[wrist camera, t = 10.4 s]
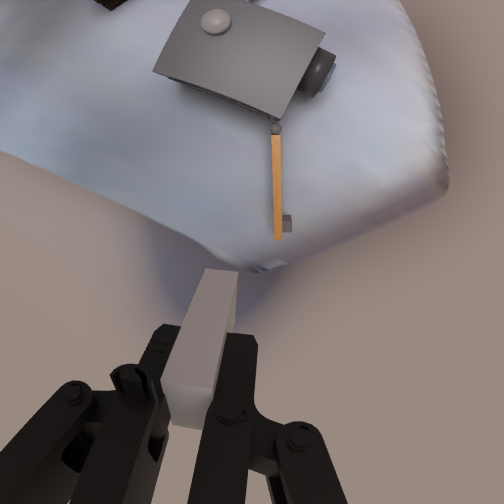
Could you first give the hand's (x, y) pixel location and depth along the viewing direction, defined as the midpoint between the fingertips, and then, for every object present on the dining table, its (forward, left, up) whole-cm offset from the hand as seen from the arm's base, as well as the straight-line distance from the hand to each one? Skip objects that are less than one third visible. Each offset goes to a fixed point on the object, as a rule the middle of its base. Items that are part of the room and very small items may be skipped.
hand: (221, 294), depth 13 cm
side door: (+2, +4, -19) cm, 20 cm away
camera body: (-6, +13, -20) cm, 25 cm away
